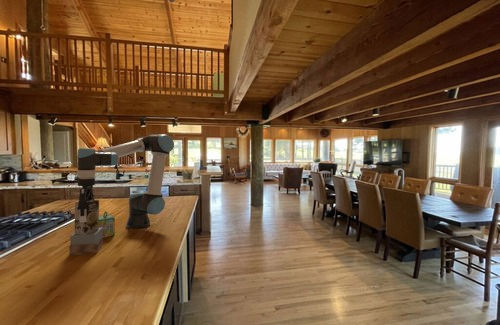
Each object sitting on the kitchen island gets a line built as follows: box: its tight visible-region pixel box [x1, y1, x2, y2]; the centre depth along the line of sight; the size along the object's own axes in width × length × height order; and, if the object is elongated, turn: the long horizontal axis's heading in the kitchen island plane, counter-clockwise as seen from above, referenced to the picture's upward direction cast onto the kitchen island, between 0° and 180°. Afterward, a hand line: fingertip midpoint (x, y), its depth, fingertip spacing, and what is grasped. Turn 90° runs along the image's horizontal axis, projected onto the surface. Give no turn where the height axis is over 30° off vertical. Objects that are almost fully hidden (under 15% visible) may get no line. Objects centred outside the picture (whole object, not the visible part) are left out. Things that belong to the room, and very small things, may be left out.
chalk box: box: [99, 210, 116, 239], centre depth 146 cm, size 9×9×15 cm
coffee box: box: [74, 199, 100, 235], centre depth 124 cm, size 9×6×16 cm
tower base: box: [68, 237, 104, 257], centre depth 125 cm, size 12×12×5 cm
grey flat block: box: [69, 228, 103, 246], centre depth 126 cm, size 11×11×5 cm
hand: (86, 218), depth 124 cm, fingers open, 13 cm apart
